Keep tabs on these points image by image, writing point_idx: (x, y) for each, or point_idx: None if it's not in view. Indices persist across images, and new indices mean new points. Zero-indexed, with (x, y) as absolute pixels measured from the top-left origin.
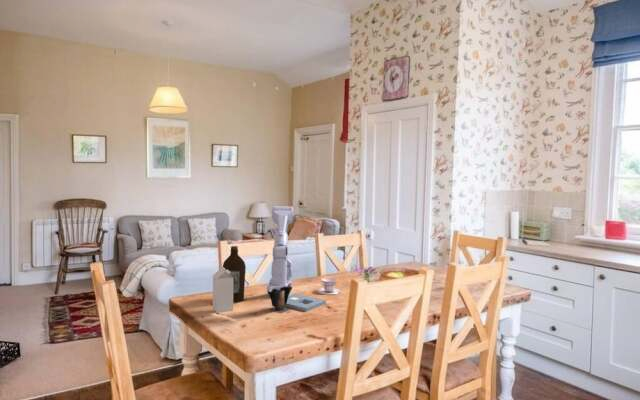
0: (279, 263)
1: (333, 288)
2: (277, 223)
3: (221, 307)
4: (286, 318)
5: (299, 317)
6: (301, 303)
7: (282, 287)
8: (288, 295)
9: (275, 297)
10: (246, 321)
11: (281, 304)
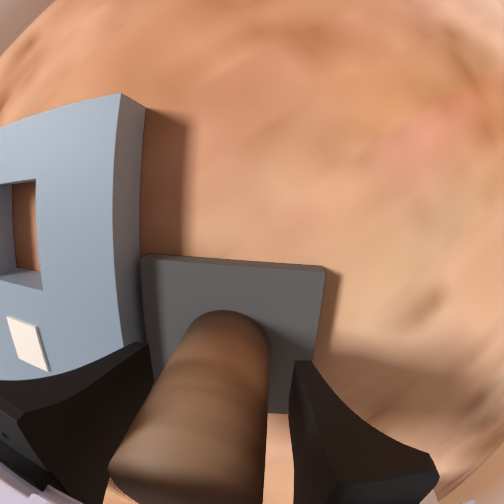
0: None
1: None
2: None
3: (427, 500)
4: (352, 176)
5: (256, 94)
6: (44, 230)
7: (82, 496)
8: (80, 370)
9: (370, 431)
10: (491, 360)
11: (240, 347)
